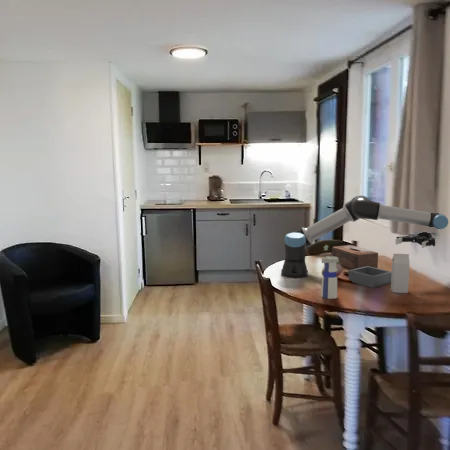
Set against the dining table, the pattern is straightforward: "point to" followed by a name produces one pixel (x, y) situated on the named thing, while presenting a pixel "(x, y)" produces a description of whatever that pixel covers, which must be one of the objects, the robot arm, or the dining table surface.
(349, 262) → the tissue box cover
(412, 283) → the dining table surface
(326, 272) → the water bottle
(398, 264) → the milk carton
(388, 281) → the bin
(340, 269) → the decorative fruit
